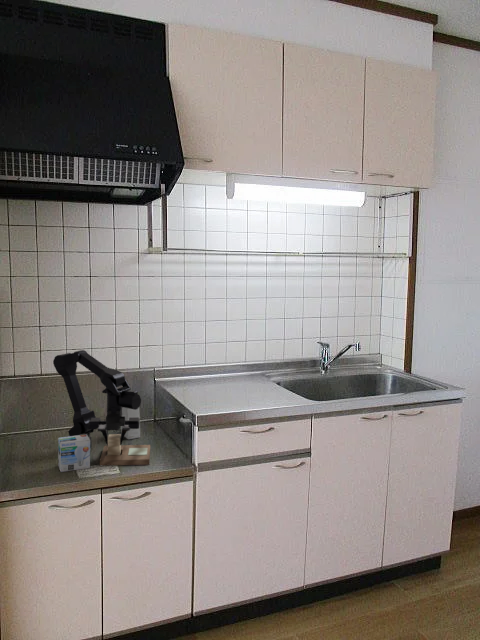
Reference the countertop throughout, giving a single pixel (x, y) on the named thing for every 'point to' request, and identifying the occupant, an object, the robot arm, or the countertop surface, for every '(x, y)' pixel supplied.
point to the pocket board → (127, 455)
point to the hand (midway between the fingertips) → (114, 444)
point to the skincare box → (128, 414)
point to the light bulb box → (73, 452)
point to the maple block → (114, 444)
